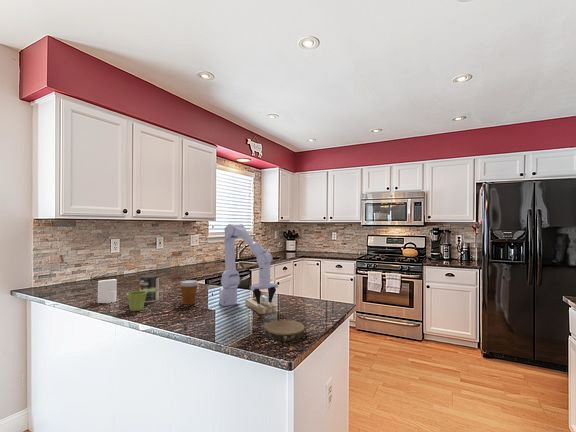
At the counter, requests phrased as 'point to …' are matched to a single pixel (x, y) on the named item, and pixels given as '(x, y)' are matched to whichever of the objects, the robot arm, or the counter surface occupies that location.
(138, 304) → the plant pot
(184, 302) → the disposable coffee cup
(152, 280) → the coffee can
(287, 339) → the round tan disc
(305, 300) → the counter surface
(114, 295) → the white rectangular block
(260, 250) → the robot arm
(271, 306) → the slotted wooden frame
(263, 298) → the steel bracket tab
